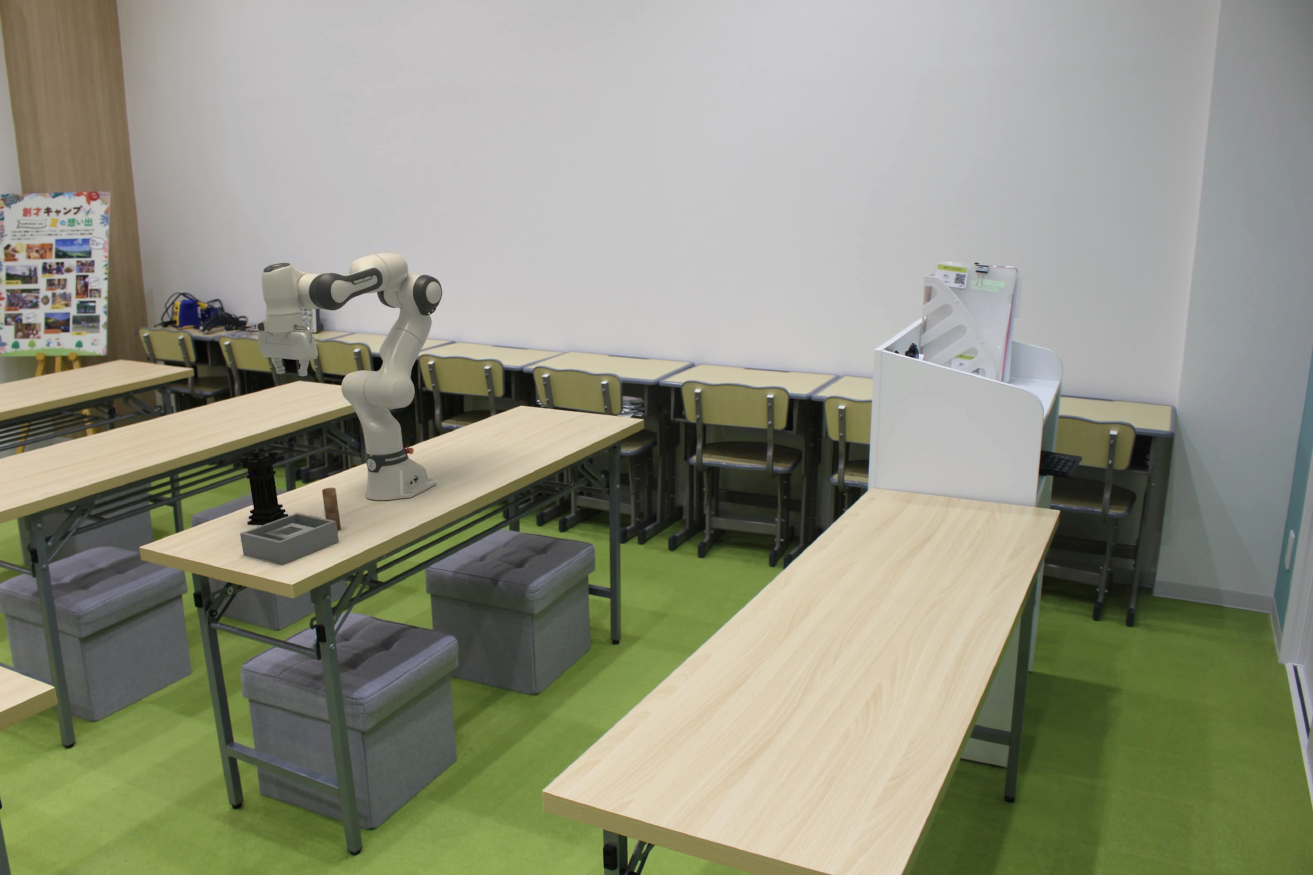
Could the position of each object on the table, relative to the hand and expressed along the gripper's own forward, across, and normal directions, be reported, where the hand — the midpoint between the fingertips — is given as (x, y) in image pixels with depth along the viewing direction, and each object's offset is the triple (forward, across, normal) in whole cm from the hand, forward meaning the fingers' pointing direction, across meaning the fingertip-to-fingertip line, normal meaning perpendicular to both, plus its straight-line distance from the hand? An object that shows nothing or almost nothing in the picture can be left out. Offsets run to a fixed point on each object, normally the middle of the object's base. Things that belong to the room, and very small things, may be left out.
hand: (292, 374), depth 258 cm
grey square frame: (+43, -10, +15) cm, 47 cm away
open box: (+44, -10, +15) cm, 48 cm away
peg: (+44, -9, 0) cm, 45 cm away
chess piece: (+44, +16, +3) cm, 47 cm away
